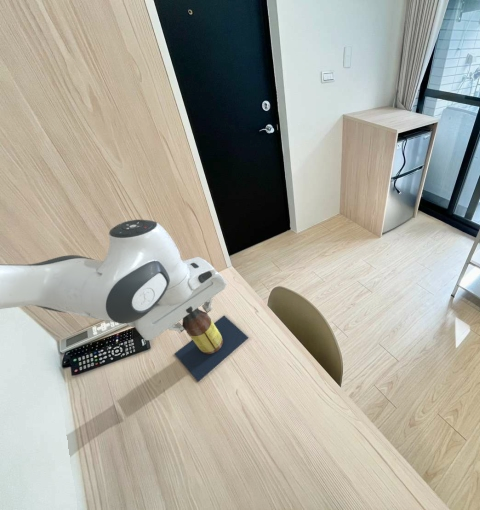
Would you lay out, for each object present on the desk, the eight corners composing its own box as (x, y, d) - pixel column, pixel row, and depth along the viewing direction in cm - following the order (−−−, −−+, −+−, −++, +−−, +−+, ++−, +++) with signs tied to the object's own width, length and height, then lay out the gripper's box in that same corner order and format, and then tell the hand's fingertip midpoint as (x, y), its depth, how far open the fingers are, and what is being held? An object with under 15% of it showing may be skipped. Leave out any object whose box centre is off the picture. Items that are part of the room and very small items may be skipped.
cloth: (198, 381, 70) (197, 381, 69) (174, 354, 75) (174, 353, 75) (248, 337, 79) (248, 337, 79) (224, 315, 84) (224, 315, 84)
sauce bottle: (218, 331, 80) (194, 287, 67) (227, 345, 77) (205, 302, 63) (195, 345, 77) (166, 301, 63) (204, 360, 73) (176, 318, 60)
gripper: (126, 325, 51) (159, 358, 60) (220, 264, 62) (236, 300, 72) (112, 307, 54) (146, 342, 63) (205, 252, 65) (222, 289, 75)
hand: (195, 319), depth 68 cm, fingers closed on sauce bottle, 6 cm apart
